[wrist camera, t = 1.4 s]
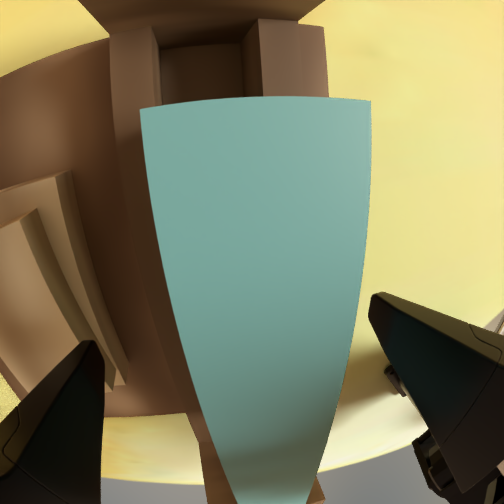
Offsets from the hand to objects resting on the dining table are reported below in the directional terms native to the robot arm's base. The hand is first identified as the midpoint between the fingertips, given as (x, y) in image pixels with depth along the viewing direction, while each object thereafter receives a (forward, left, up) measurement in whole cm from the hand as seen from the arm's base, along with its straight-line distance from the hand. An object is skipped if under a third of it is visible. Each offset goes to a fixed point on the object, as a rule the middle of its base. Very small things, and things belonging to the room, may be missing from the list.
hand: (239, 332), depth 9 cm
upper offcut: (+5, +7, -3) cm, 9 cm away
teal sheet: (0, 0, -4) cm, 5 cm away
